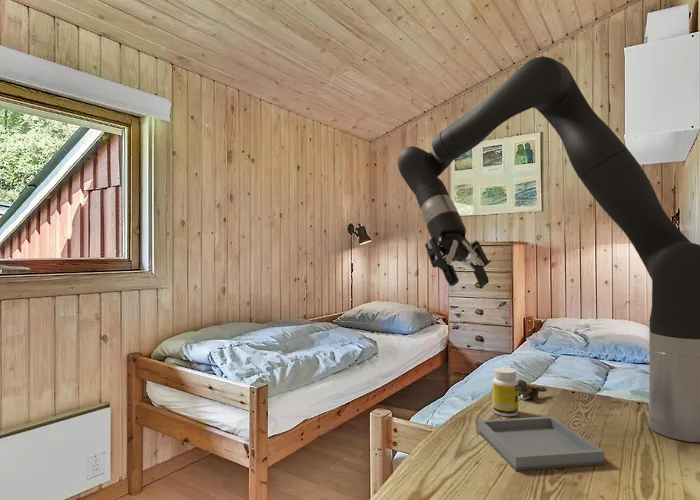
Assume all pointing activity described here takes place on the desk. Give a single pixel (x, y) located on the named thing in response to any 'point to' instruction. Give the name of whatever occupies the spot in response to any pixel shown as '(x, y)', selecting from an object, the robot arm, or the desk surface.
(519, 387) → the cat figurine
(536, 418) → the tray
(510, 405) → the supplement bottle
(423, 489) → the desk surface
